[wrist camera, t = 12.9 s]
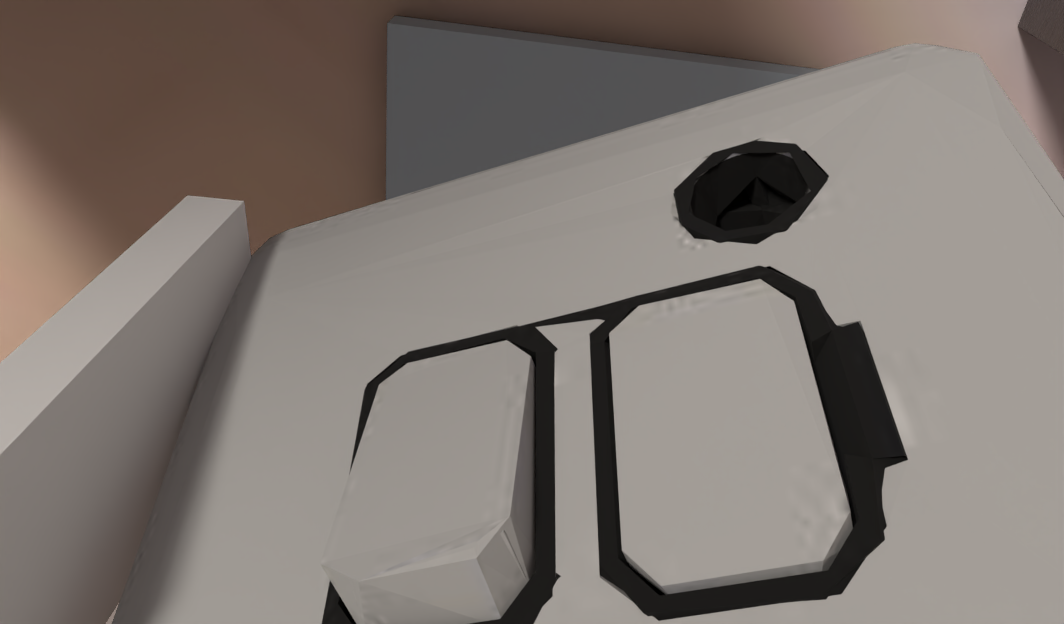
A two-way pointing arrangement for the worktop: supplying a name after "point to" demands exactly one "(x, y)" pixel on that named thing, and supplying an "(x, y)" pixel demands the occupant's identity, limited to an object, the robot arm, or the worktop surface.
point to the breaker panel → (1045, 22)
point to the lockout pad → (531, 94)
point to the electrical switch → (652, 381)
